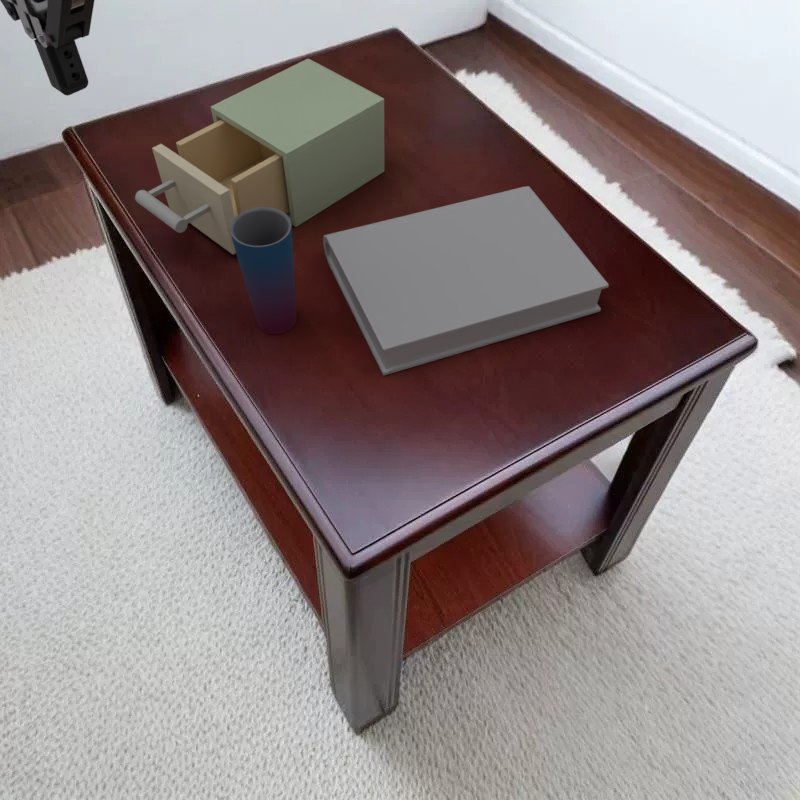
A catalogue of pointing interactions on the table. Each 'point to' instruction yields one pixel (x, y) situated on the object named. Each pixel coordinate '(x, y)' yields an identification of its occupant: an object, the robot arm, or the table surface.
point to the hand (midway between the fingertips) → (71, 88)
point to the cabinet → (313, 132)
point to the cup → (267, 266)
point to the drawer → (215, 181)
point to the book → (461, 277)
